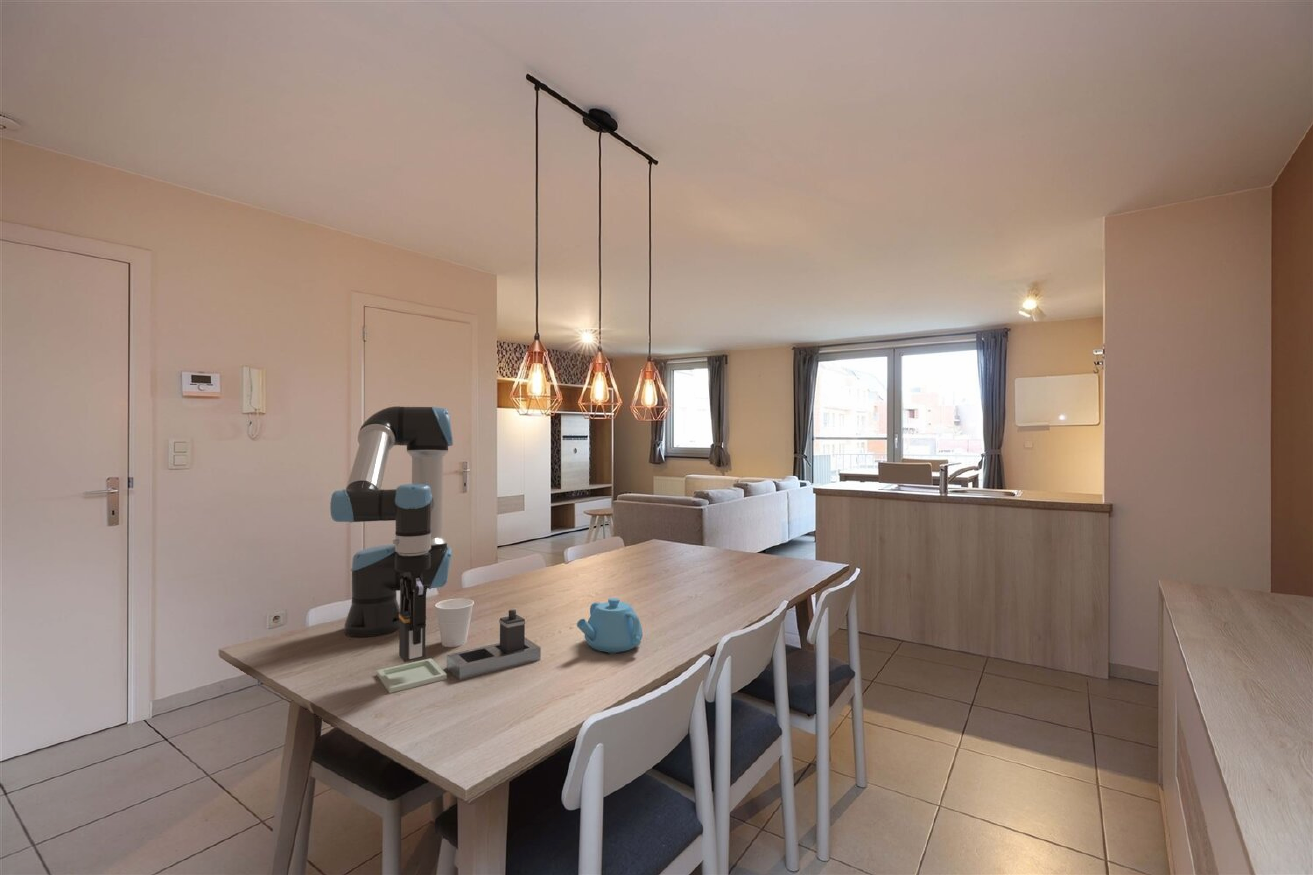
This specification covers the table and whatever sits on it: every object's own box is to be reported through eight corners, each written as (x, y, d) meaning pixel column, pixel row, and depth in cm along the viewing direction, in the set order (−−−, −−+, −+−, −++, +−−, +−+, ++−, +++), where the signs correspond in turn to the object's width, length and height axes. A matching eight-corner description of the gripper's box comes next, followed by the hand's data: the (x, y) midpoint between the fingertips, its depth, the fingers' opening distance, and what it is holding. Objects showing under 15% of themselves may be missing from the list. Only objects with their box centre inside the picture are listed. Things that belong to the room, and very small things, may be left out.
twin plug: (499, 658, 140) (499, 609, 140) (516, 654, 143) (517, 606, 143) (506, 664, 136) (507, 614, 136) (524, 659, 139) (525, 611, 139)
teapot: (660, 648, 149) (660, 600, 149) (603, 670, 134) (603, 617, 134) (609, 630, 162) (610, 586, 163) (553, 648, 148) (553, 600, 148)
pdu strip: (446, 669, 134) (446, 654, 134) (524, 650, 146) (524, 637, 146) (459, 682, 127) (459, 666, 127) (540, 661, 139) (540, 647, 139)
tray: (377, 676, 130) (377, 670, 130) (430, 664, 137) (430, 658, 137) (389, 695, 120) (390, 688, 120) (447, 680, 128) (447, 674, 128)
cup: (461, 652, 145) (461, 610, 145) (426, 649, 147) (426, 607, 147) (480, 639, 154) (481, 599, 154) (447, 636, 156) (448, 597, 156)
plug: (398, 655, 130) (399, 603, 129) (419, 650, 132) (420, 600, 132) (404, 662, 126) (404, 608, 126) (425, 657, 129) (426, 605, 129)
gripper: (386, 547, 133) (385, 645, 134) (406, 561, 120) (405, 670, 120) (419, 543, 138) (418, 638, 138) (442, 557, 124) (441, 662, 125)
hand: (412, 653), depth 129 cm, fingers closed on plug, 4 cm apart
